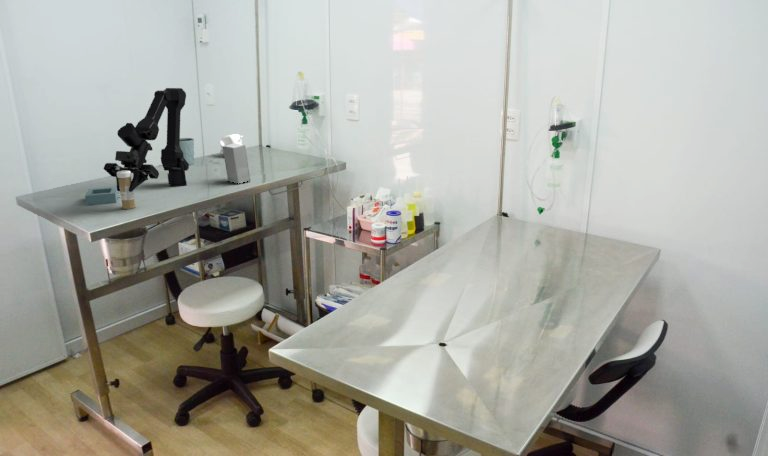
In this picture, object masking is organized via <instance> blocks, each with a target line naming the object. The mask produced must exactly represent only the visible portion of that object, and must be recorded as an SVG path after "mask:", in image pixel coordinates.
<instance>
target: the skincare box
mask: <svg viewBox="0 0 768 456" xmlns="http://www.w3.org/2000/svg"><path fill="white" fill-rule="evenodd" d="M223 152H224V155H223V158H224V164H225V169H226V170H225V171H226V178H227V182H228V181H230V182H229V183H232V182H234V184H237V183H238V184H237V185H240V184H239V183H241V184H243V182H245V183H248V182H247V181H250V182H252V181H251V174H250V169H249V161H248V155H247V153H248V152H247V147H246V145H245V144H242V145H240V144H230V145H225V146H223ZM223 152H222V153H223Z"/></svg>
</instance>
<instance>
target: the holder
mask: <svg viewBox="0 0 768 456" xmlns="http://www.w3.org/2000/svg"><path fill="white" fill-rule="evenodd" d="M119 197H120V195H119V191H118V190H117V186H110V187H108V186H107V187H97V188H89V189H87V191H86V193H85V195H84V198H85V203H86V206H91V205H102V204H103V205H104V204H111V203H115V204H116V203H117V202H118V198H119Z"/></svg>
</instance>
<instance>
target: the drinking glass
mask: <svg viewBox="0 0 768 456" xmlns="http://www.w3.org/2000/svg"><path fill="white" fill-rule="evenodd" d="M194 140H195V139H194V138H192V137H180V148H181V150H182V152H183V155H184V159H185V160H186V161H187V162H188V164H189V166H193V165H195V158H194V157H195V150H194V149H195V147H194V146H195V141H194Z"/></svg>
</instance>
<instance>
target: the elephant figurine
mask: <svg viewBox="0 0 768 456" xmlns="http://www.w3.org/2000/svg"><path fill="white" fill-rule="evenodd" d="M243 138H244V135H241V134H238V133H233V134H227V135H225V136H223V137H222V138H220V140H219V144H220V147H221V149H220V151H219V154H223V156H224V152H223V146H225V145H230V144H240V145H243Z"/></svg>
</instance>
